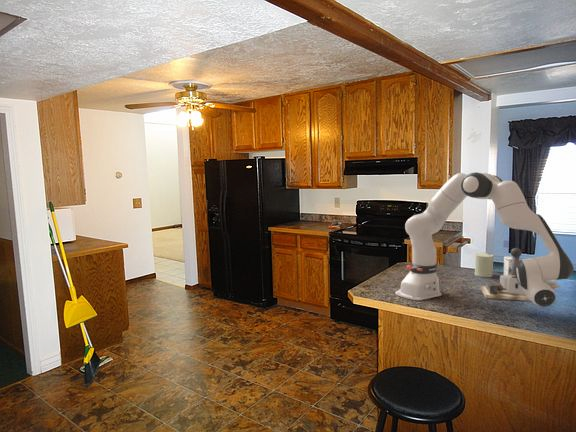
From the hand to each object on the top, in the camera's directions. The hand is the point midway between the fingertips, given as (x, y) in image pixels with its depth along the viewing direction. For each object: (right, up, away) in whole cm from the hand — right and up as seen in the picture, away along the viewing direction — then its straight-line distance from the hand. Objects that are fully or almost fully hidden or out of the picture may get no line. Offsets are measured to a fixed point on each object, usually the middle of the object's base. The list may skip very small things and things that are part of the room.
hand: (522, 276), depth 173 cm
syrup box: (+11, -9, +29) cm, 32 cm away
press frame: (+3, -11, +13) cm, 17 cm away
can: (+7, -7, +48) cm, 49 cm away
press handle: (+3, -8, +12) cm, 15 cm away
